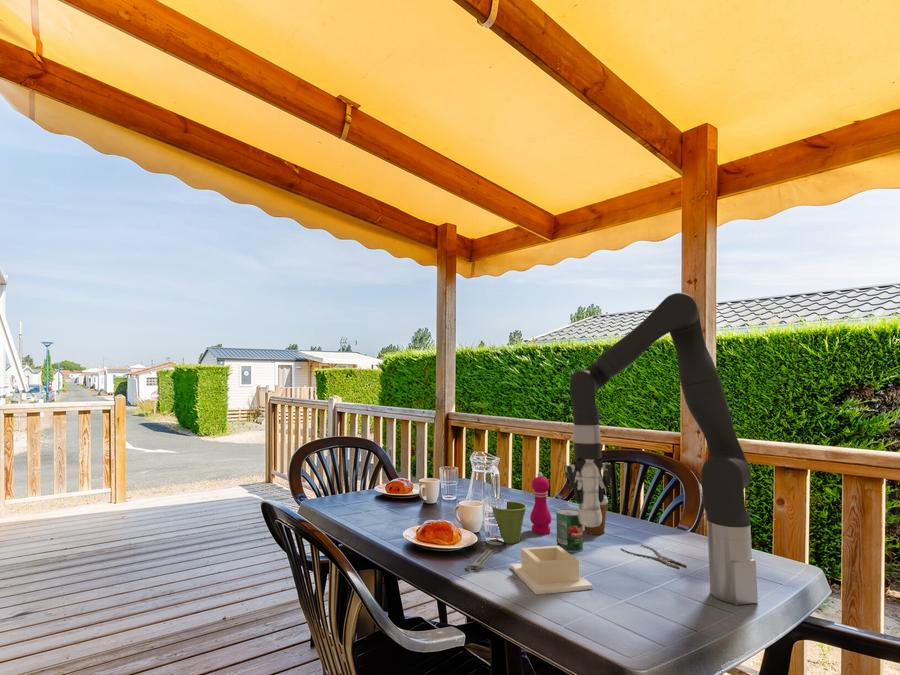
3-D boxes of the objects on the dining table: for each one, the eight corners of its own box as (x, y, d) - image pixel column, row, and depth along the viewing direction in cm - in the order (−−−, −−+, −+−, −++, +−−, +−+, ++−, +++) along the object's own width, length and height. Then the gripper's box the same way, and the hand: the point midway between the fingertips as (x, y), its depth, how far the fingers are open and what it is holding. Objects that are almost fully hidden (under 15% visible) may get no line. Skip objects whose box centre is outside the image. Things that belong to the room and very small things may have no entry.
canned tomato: (560, 542, 159) (559, 507, 160) (585, 546, 156) (584, 510, 157) (554, 550, 152) (553, 513, 153) (580, 553, 149) (579, 516, 150)
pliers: (636, 542, 158) (698, 560, 142) (636, 545, 158) (699, 563, 142) (618, 548, 152) (680, 567, 136) (618, 551, 152) (680, 570, 136)
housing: (592, 589, 123) (591, 563, 124) (535, 594, 120) (535, 568, 120) (561, 563, 140) (560, 541, 141) (510, 567, 137) (510, 545, 138)
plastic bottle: (606, 526, 138) (604, 452, 140) (595, 531, 133) (592, 455, 135) (585, 522, 142) (583, 451, 145) (573, 526, 137) (571, 453, 140)
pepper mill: (553, 535, 167) (552, 474, 169) (532, 534, 167) (531, 474, 169) (549, 528, 175) (548, 470, 176) (529, 528, 175) (528, 470, 177)
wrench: (464, 571, 135) (464, 567, 136) (485, 549, 154) (485, 545, 154) (480, 574, 134) (480, 569, 134) (500, 550, 152) (500, 547, 152)
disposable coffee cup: (578, 527, 176) (578, 492, 177) (606, 528, 175) (605, 493, 176) (582, 535, 167) (581, 498, 168) (611, 536, 166) (610, 499, 167)
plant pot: (502, 548, 153) (501, 511, 155) (484, 537, 164) (484, 502, 165) (534, 543, 158) (534, 507, 159) (515, 533, 169) (514, 499, 170)
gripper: (569, 443, 135) (571, 507, 133) (617, 441, 138) (620, 503, 136) (557, 440, 142) (559, 501, 141) (603, 438, 145) (605, 498, 144)
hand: (589, 502), depth 138 cm, fingers closed on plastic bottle, 5 cm apart
